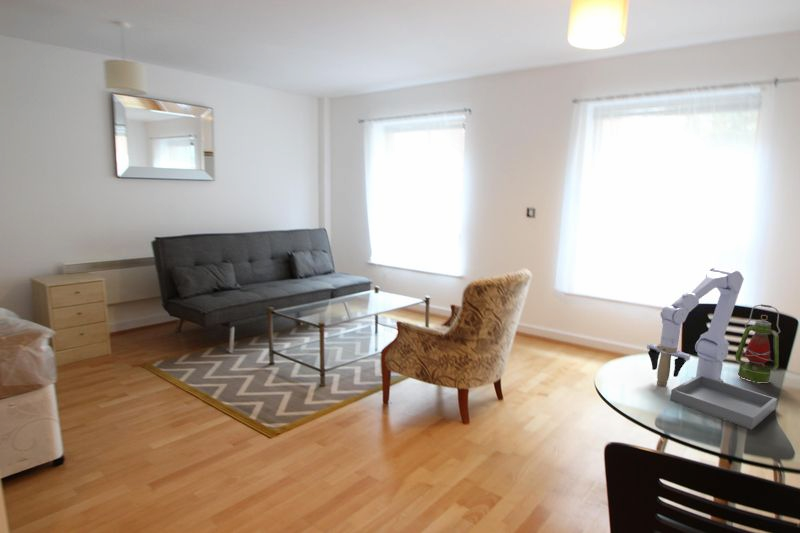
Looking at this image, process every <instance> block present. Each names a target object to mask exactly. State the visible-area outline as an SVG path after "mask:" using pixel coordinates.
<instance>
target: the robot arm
mask: <svg viewBox="0 0 800 533" xmlns="http://www.w3.org/2000/svg"><path fill="white" fill-rule="evenodd" d="M743 283H744V277H743V275H742V273H741V272H740V271H739V270H732V269H728V268H723V267H719V266H713V267H711V268H710V269H709V271H707V272H706V274H705V278H704V279H703V280H702V281H701V282H700V283H699V284H698V285H697V286H696V287H695V288H694V289H692V291H691V292H685V293H683V294H682V295H681V296H680V297H679V298H678V299H677V300H675V302H673V303H672V304H671V305H670V304H669V305H667V306H665V307H663V309H662V310H661V311H660V319H661V323H662V329H661V330H662V331H661V334H660V335H661V336H660V342H659V344H660V345H661V346H663V347H666V348H672V349H676V348H677V352H675V353H667V352H665V351H662V350H661V351H660V350H659V349H658V348H657V345H658V344H654V343H648V344H646V349H647V354H648V356H649V358H650V361H651V362H650V363H651V369H652V370H653V371H655V370H658V365H659V362H658V361H659V359H660V355H661V352H662V353H665V354H672V355H671V357H675V358H674V370H673V377H675V378H677V377H678V376H679V374H680V371H681V369H682V367H683V366H684V365H685V363H686V362H688V361H689V360H690V359H691V354H689V353H685V352H683V351H681V350H678V346H679V341H680V335H681V334H680V333H681V325H682V324H683V323H685V321H686V319H687V317H688V315H689V313H690V312H692V310H694V309H695V308H696V307H697V306H698V305H699V303H700V299H701V298H703V297H705V296H706V295H707V294H708V293H710V292H711V291H713V290H714V289H715V288H717V290H718V291H719V293H720V294H719V297H718V300H717V304H716V306H715V308H714V313H713V314H712V318H711V321H710V324H709V327H708V330H707V331H706V332H704V333H702V334H700V336H699V339H698V340H697V341H696V343H695V345H694V349H695V352H697V356H698V360H697V361H698V362H697V368H696V374H695V375H693V376H691V379H693V378H695V377H696V376H698V375H702V376H705V377H708V378H711V379H715V380H718V381H721V382H724V379H723V378H721V377H722V371H723V362H724V360H726V359H727V357H728V354H729V346H730V342H728V340H727V339H726V337H725V334H726V332H727V329H728V326H729V323H730V320H731V317H732V314H733V311H734V308H735V305H736V302H737V299H738V296H739V294H740V291H741V288H742V285H743ZM648 350H649V351H648Z"/></svg>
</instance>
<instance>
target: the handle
mask: <svg viewBox="0 0 800 533" xmlns="http://www.w3.org/2000/svg"><path fill="white" fill-rule="evenodd" d="M656 345H657V348H658V349H659V350H660V351H661V350H662V351H665V352H667V353H675V352H677V350H678V348H676V349H672V348H666V347H663V346H661V345H660V343H658V344H656ZM671 355H672V354H665V353H662V352H660V356H659V360H658V361H659V362H658V365H657V373H656V374H657V376H656V379H657V380H656V383H657V385H659V386H662V387H663V386H664V387H665V386H667V385H668V381H669V378H670V373H671V363H672V362H671V360H672V356H671Z"/></svg>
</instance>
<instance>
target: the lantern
mask: <svg viewBox="0 0 800 533" xmlns="http://www.w3.org/2000/svg"><path fill="white" fill-rule="evenodd" d="M756 307H761V308H762V307H764V308H768V309H774V310H775V311H776V312H777V318H776V319H777V320H776V327H777V329H778V332H777V331H776V330H774V329H772V326H771V325H772V323H771V322H769V321H767V320H768V318H769V317H768V315H766V314H761V315H760V319H758V320H755V321H754V322H755V323H754V325H753V326H752V325H751V326H747V325H748V324H749V323H750V322H751V319H752V315H753V310H754V309H755V308H756ZM750 310H751V311H750V315H749V320H748V321H747V322H746V323H745V324H744V326H745V329H744V332H743V334H742V337H741V339H740V343H739V345H738V348H737V350H736V353H735V362H737V363H738V364H739V367H738V372H737V373H738V375H739V376H740V377H742V378H745V379H748V380H751V381H755V382H768V381H769V380H770V378H771V374H772V373H771V372H772V371H776V370H777V369H778V367H779V356H780V355H779V353H780V352H779V334H780V333H781V330H780V327H779V320H780V319H779V318H780V312H779V310H778V309H777V307H774V306H772V305H769V304H762V303H761V304H758V305H754V306H753V307H752V308H751V309H750ZM763 316H765V317H766V318H765V319H763ZM751 331H752V332H754V334H753V335H752V337H751V339H750V341H749V342H748V344H747V346H745V345H746V343H747V339H748V337H749V334H750V332H751ZM768 335H772V336H773V338H772V342H773V345H772V349H773V350H772V351H773V352H772V356H773V359H771V344H770V340H769V339H770V338H769V336H768ZM744 348H745V349H744ZM744 351H745V352H744ZM743 356H745V358H747V360H748V362H746V361H744V360H741V359H742V357H743ZM769 361H771V362H773V363H772V366H765V365H764V364H765V363H767V362H769ZM740 377H739V378H740Z"/></svg>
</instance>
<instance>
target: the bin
mask: <svg viewBox="0 0 800 533" xmlns="http://www.w3.org/2000/svg"><path fill="white" fill-rule="evenodd" d="M670 390H671V391H670V398H669V401H670V402H673V403H676V404H679V405H681V406H684V407H687V408H690V409H693V410H695V411H698V412H701V413H703V414H706V415H709V416H712V417H715V418H718V419H721V420H723V419H725V420H727V421H726V422H728V421H731V422H733V423H732V424H734V423H735V424H734V425H736V424H737V425H736V426H739V427H743V428H745V429H748V430H753V429H754V428H756V427H757V426H758V425H759V424H760V423H761V422H763V421H764V420H765V419H766V418H767V417H768V416H770V415H771V414H772V413H773V412H775V410H776V407H777V402H778V398H776V397H773V396H770V395H766V394H763V393H759V392H756V391H753V390H751V389H747V388H744V387H740V386H737V385H734V384H730V383H727V382H724V381H718V380H715V379H711V378H708V377H705V376H702V375H698V376H696V377H695V378H693V379H692V378H691V379H689V380H687V381H685V382H683V383H681V384H679V385H678V386H676V387H674V388H672V389H670ZM725 420H724V421H725ZM731 422H730V423H731Z"/></svg>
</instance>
